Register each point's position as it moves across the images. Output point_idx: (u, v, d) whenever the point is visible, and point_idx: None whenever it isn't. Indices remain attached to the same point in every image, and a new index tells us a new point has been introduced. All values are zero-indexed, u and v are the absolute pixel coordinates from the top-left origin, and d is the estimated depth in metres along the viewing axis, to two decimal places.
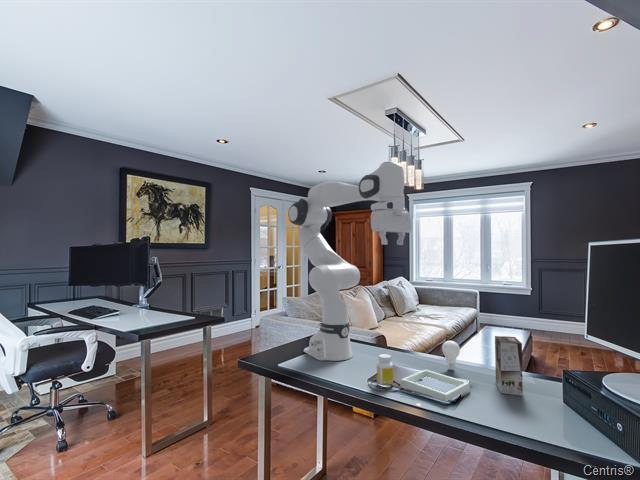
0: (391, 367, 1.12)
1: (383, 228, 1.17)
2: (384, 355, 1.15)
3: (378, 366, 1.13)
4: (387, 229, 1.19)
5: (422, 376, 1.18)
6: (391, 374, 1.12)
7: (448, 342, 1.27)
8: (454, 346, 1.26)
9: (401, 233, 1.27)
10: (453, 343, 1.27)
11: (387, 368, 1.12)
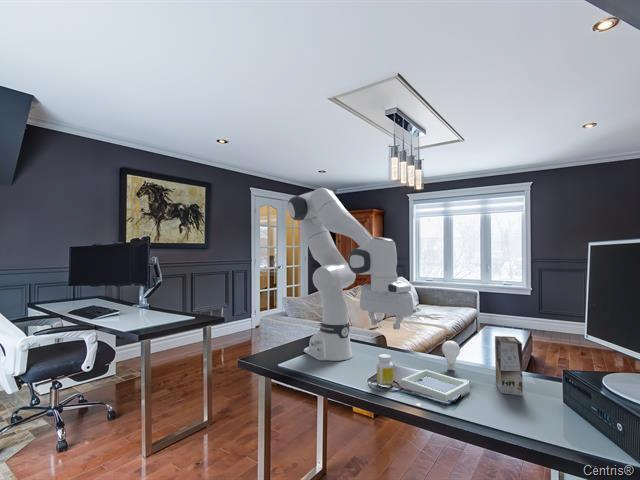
0: (391, 367, 1.12)
1: None
2: (384, 355, 1.15)
3: (378, 366, 1.13)
4: None
5: (422, 376, 1.18)
6: (391, 374, 1.12)
7: (448, 342, 1.27)
8: (454, 346, 1.26)
9: (374, 312, 1.19)
10: (453, 343, 1.27)
11: (387, 368, 1.12)
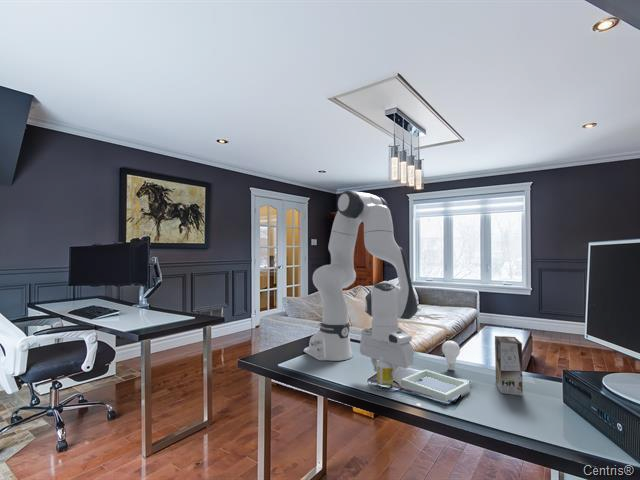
0: (391, 367, 1.12)
1: None
2: None
3: (378, 366, 1.13)
4: None
5: (422, 376, 1.18)
6: None
7: (448, 342, 1.27)
8: (454, 346, 1.26)
9: (376, 358, 1.17)
10: (453, 343, 1.27)
11: (387, 368, 1.12)
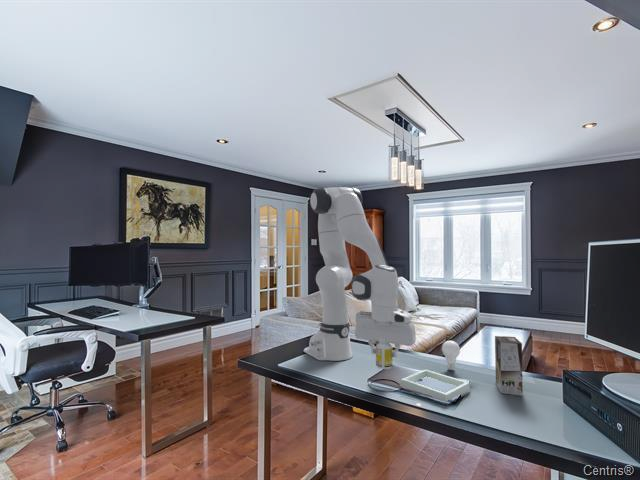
0: None
1: None
2: None
3: (380, 348, 1.13)
4: None
5: (422, 376, 1.18)
6: None
7: (448, 342, 1.27)
8: (454, 346, 1.26)
9: (373, 340, 1.17)
10: (453, 343, 1.27)
11: (389, 349, 1.12)
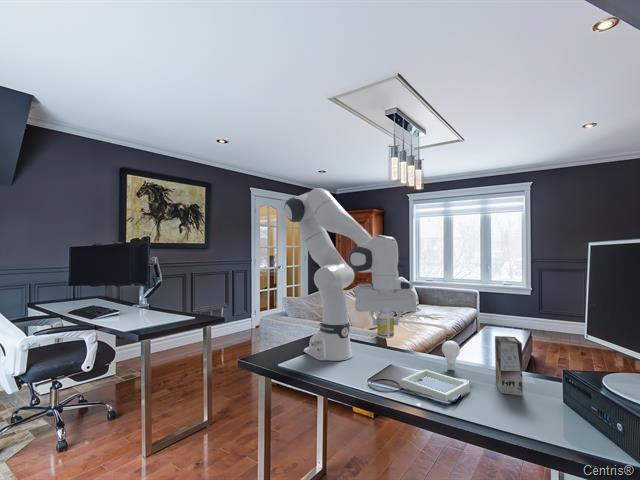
0: None
1: None
2: None
3: (384, 318, 1.12)
4: None
5: (422, 376, 1.18)
6: None
7: (448, 342, 1.27)
8: (454, 346, 1.26)
9: None
10: (453, 343, 1.27)
11: (393, 318, 1.13)
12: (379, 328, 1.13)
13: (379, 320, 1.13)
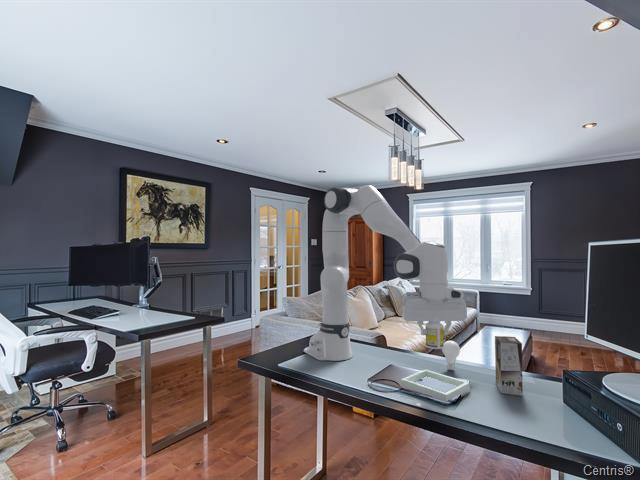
0: None
1: None
2: None
3: (435, 328, 1.08)
4: None
5: (422, 376, 1.18)
6: None
7: (448, 342, 1.27)
8: (454, 346, 1.26)
9: None
10: (453, 343, 1.27)
11: (442, 328, 1.09)
12: (428, 338, 1.09)
13: (428, 330, 1.09)
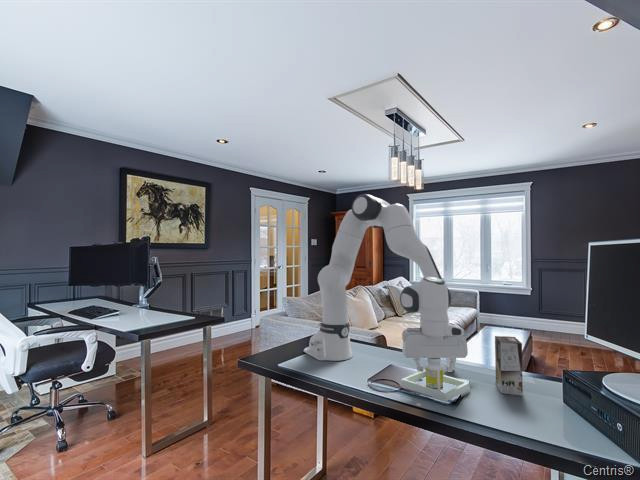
0: None
1: None
2: None
3: (434, 370, 1.08)
4: None
5: (422, 376, 1.18)
6: None
7: None
8: None
9: None
10: None
11: (442, 369, 1.09)
12: (428, 380, 1.09)
13: (428, 372, 1.09)
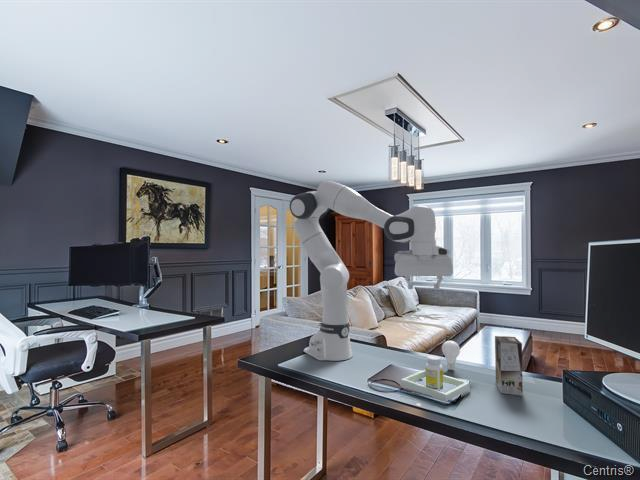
0: None
1: None
2: (432, 357, 1.11)
3: (434, 370, 1.08)
4: None
5: (422, 376, 1.18)
6: None
7: (448, 342, 1.27)
8: (454, 346, 1.26)
9: None
10: (453, 343, 1.27)
11: (442, 369, 1.09)
12: (428, 380, 1.09)
13: (428, 372, 1.09)
